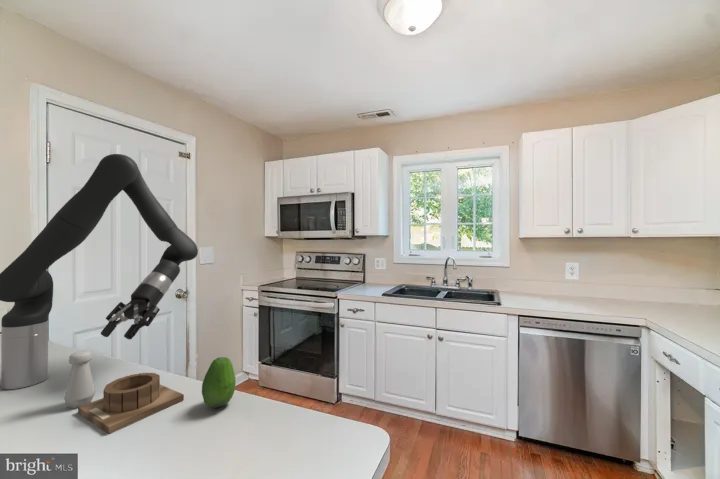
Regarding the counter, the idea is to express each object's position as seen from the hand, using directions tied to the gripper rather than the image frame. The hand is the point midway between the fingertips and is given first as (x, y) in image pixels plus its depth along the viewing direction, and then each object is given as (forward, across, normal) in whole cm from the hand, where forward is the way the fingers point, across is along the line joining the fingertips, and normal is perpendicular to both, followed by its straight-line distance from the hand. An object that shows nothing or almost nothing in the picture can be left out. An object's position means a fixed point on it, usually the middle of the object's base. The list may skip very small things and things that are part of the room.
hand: (115, 336), depth 86 cm
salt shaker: (+16, 0, +4) cm, 17 cm away
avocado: (+10, +34, +10) cm, 37 cm away
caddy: (+14, +14, +6) cm, 21 cm away
